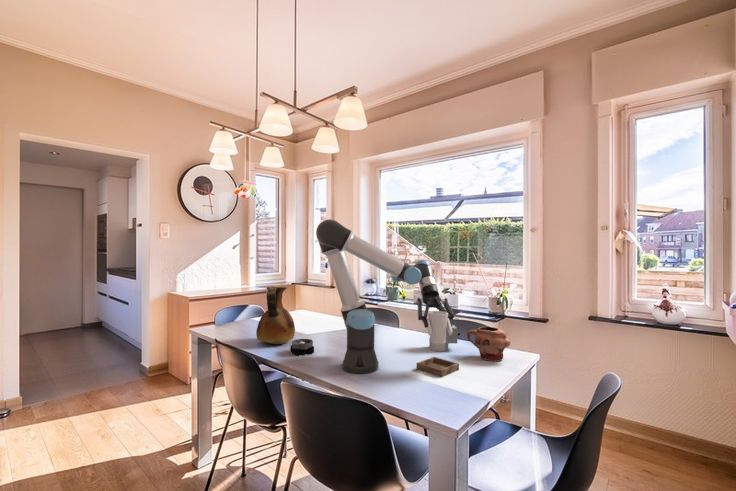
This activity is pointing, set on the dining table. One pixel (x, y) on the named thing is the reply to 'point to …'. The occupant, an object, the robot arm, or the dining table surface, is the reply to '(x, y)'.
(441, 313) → the cup
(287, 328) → the brown vase
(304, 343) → the cpu cooler
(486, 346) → the brown clay rounded pot
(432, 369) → the wooden tray
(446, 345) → the circuit breaker
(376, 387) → the dining table surface
